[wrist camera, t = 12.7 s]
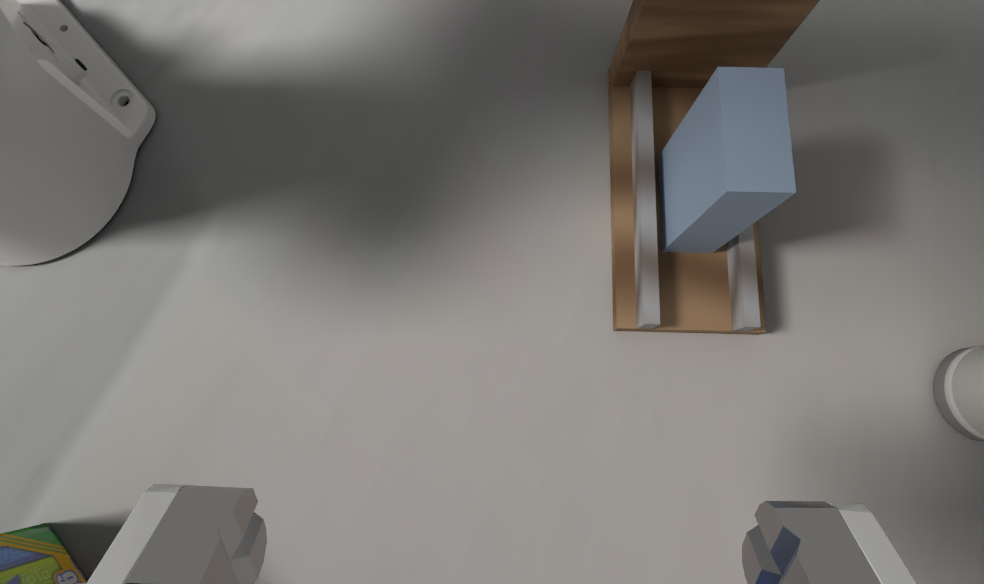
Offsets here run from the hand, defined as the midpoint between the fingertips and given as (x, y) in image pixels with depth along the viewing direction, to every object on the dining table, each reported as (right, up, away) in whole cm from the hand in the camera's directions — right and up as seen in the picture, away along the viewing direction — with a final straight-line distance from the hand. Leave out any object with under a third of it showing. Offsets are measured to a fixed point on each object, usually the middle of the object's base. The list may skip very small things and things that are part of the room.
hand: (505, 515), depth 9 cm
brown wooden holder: (+13, +11, +32) cm, 37 cm away
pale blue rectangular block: (+13, +10, +31) cm, 35 cm away
